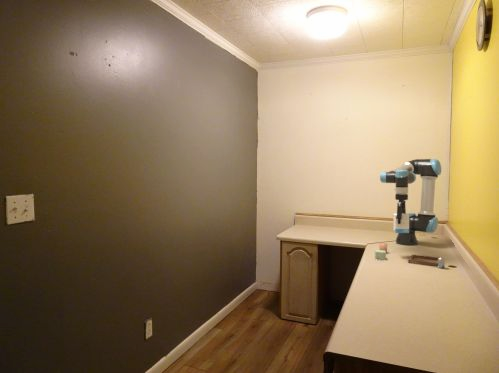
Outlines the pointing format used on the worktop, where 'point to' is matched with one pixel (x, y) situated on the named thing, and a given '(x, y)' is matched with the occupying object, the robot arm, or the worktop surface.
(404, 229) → the ink box
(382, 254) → the sage block
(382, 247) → the terracotta cup
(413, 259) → the tray
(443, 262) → the grey peg
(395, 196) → the robot arm
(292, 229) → the worktop surface
